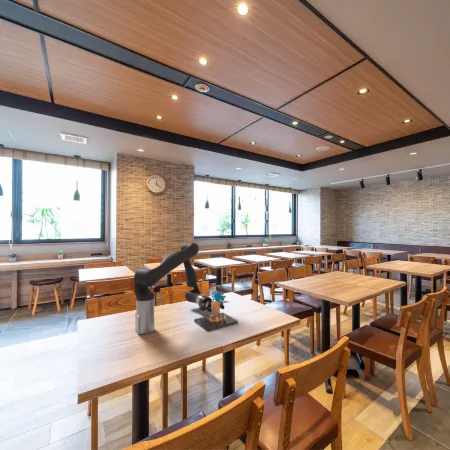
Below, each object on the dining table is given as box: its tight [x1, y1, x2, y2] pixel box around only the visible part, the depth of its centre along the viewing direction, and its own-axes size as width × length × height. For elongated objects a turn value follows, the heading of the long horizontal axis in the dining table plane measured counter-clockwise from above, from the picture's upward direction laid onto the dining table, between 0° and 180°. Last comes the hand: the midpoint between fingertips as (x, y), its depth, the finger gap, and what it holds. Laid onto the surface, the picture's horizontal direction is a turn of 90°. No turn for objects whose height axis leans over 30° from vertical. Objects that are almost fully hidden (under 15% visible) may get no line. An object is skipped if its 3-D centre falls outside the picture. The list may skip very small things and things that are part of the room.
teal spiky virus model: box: [211, 290, 227, 303], centre depth 180 cm, size 11×6×10 cm
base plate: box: [193, 312, 239, 333], centre depth 141 cm, size 20×16×6 cm
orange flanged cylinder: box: [209, 300, 222, 323], centre depth 141 cm, size 8×8×10 cm
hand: (217, 308), depth 139 cm, fingers open, 8 cm apart
